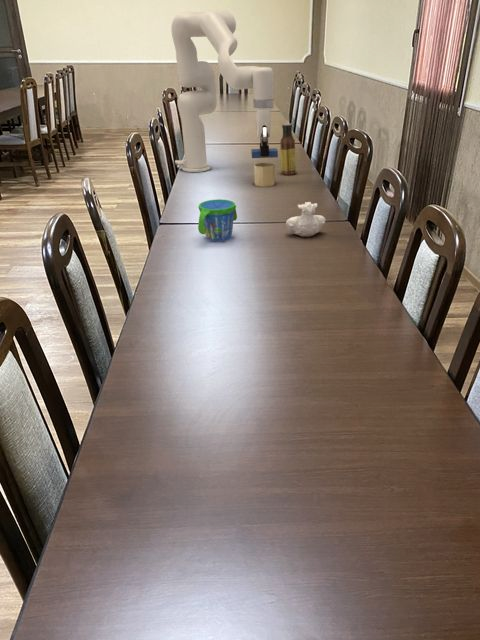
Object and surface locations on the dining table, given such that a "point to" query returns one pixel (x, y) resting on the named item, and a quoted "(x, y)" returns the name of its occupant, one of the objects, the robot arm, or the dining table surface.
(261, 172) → the beige cup
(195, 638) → the dining table surface
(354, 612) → the dining table surface
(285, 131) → the sauce bottle
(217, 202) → the snack cup
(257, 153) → the block
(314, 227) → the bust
